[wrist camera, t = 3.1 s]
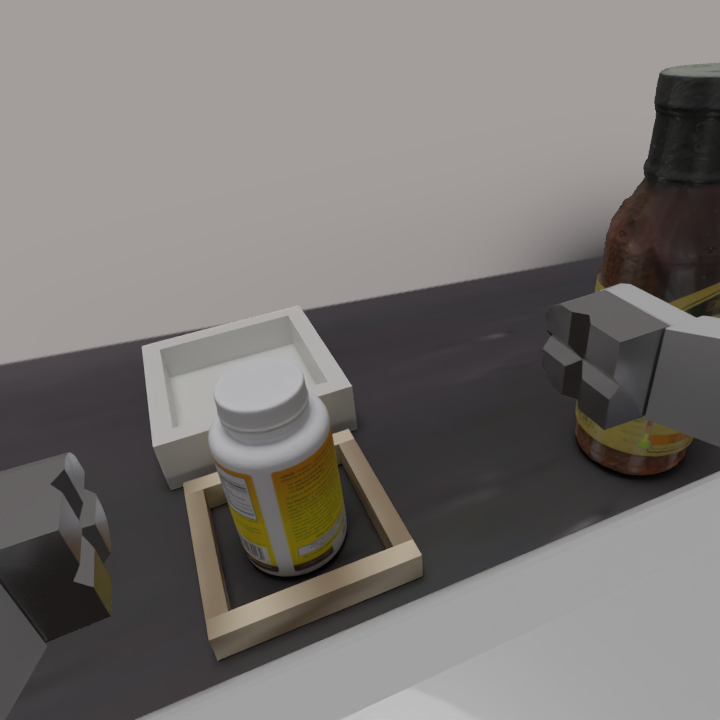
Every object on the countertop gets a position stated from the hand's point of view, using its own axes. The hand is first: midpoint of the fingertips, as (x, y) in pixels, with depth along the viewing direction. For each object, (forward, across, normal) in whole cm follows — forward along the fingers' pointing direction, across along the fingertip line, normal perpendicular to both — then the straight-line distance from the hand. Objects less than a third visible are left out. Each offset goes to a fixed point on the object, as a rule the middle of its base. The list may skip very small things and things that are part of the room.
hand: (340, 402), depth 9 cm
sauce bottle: (+11, -20, +19) cm, 29 cm away
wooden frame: (+13, 0, +18) cm, 22 cm away
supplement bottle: (+13, 0, +18) cm, 23 cm away
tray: (+26, 0, +18) cm, 31 cm away
